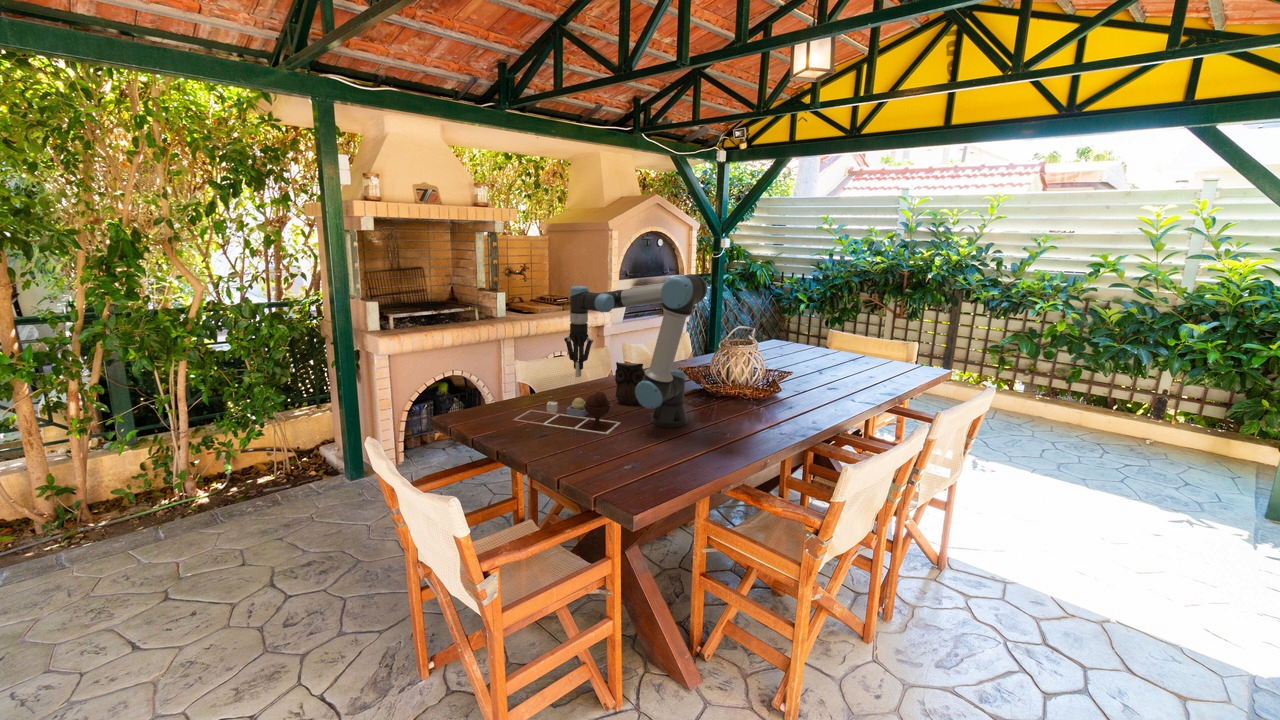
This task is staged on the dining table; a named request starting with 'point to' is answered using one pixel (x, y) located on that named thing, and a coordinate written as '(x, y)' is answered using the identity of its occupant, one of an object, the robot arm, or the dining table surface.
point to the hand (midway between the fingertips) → (578, 376)
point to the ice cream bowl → (597, 407)
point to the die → (552, 407)
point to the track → (567, 427)
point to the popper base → (576, 412)
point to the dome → (578, 404)
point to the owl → (628, 382)
